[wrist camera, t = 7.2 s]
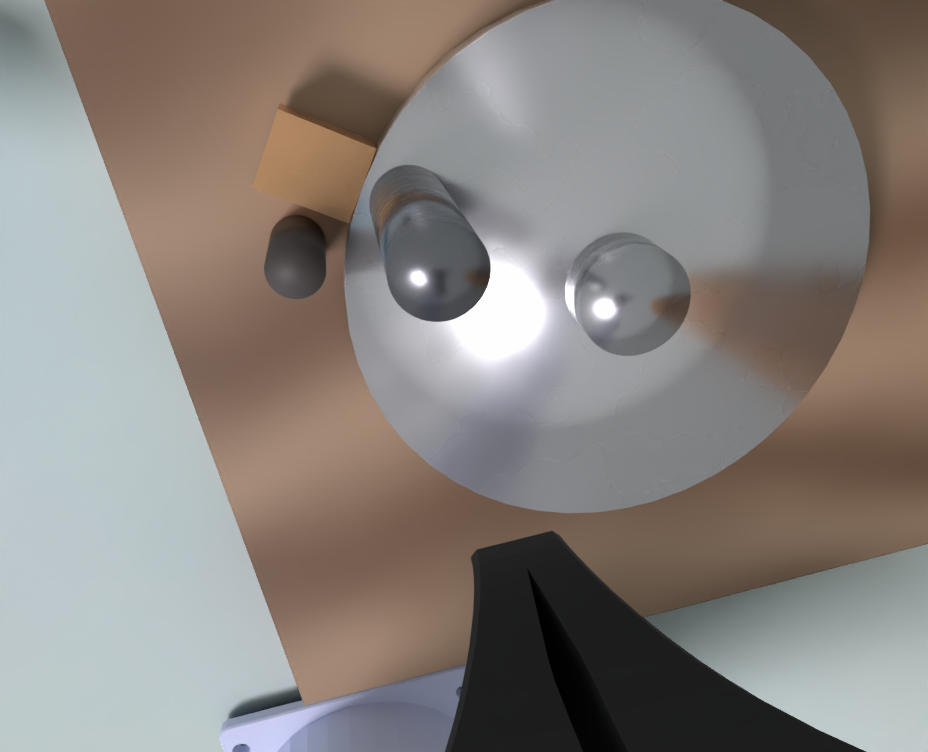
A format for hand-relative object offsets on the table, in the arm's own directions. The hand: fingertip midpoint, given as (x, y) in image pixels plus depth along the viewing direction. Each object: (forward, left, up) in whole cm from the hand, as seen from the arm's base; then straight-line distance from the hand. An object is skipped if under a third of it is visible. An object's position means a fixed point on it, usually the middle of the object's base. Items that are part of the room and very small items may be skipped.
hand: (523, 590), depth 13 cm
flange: (+3, -3, -8) cm, 9 cm away
